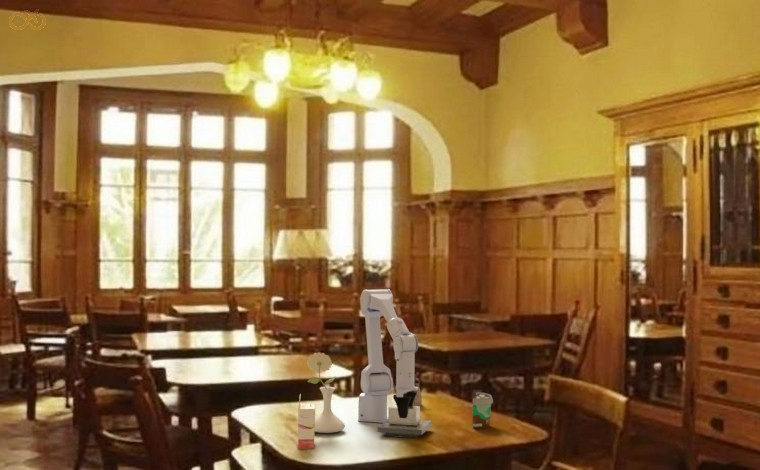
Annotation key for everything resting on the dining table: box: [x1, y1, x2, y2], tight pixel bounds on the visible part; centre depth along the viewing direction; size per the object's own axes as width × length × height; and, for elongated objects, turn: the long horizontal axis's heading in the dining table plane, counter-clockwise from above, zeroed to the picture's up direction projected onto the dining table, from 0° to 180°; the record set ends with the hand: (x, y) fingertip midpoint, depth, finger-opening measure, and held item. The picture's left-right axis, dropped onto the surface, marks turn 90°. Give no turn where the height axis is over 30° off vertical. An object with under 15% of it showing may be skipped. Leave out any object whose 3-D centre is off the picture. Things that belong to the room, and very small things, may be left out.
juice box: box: [297, 393, 316, 450], centre depth 250 cm, size 9×5×15 cm, turn 5°
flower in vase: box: [305, 351, 346, 434], centre depth 268 cm, size 13×11×25 cm
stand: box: [377, 419, 433, 439], centre depth 266 cm, size 14×14×3 cm
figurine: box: [413, 371, 423, 407], centre depth 313 cm, size 7×7×12 cm
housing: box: [387, 404, 421, 425], centre depth 266 cm, size 5×9×6 cm, turn 74°
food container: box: [472, 391, 494, 429], centre depth 278 cm, size 12×6×10 cm, turn 168°
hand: (405, 416), depth 266 cm, fingers closed on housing, 5 cm apart
